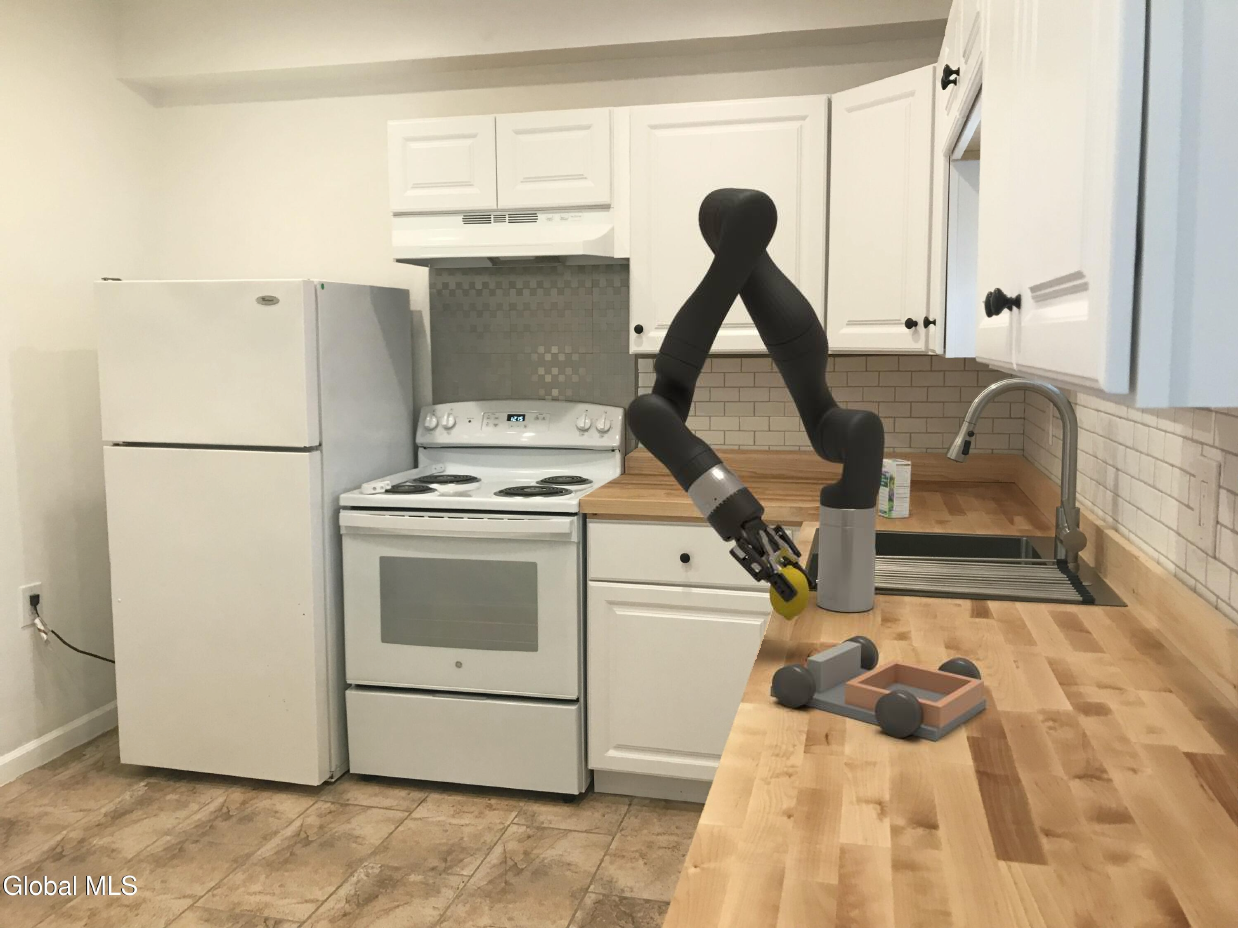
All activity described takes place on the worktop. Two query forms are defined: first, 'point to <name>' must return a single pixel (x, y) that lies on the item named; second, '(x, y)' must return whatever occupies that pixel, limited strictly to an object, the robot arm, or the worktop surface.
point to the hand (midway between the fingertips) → (801, 592)
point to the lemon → (797, 602)
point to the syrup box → (895, 488)
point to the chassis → (884, 690)
